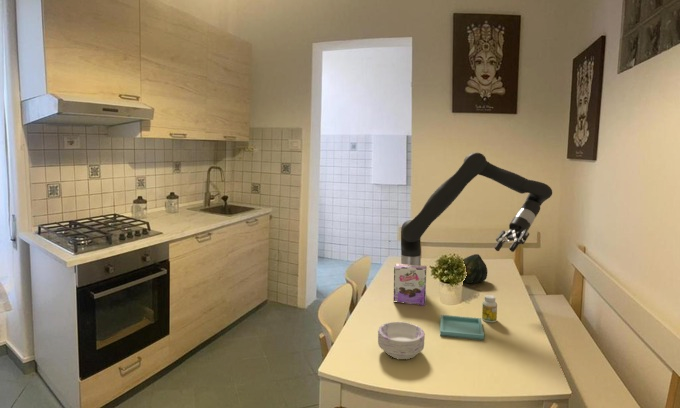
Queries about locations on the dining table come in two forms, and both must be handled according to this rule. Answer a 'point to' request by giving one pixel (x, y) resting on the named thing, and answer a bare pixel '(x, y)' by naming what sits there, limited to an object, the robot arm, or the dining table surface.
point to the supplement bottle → (489, 309)
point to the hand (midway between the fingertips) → (503, 250)
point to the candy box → (410, 283)
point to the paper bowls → (401, 339)
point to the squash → (475, 269)
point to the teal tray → (461, 327)
